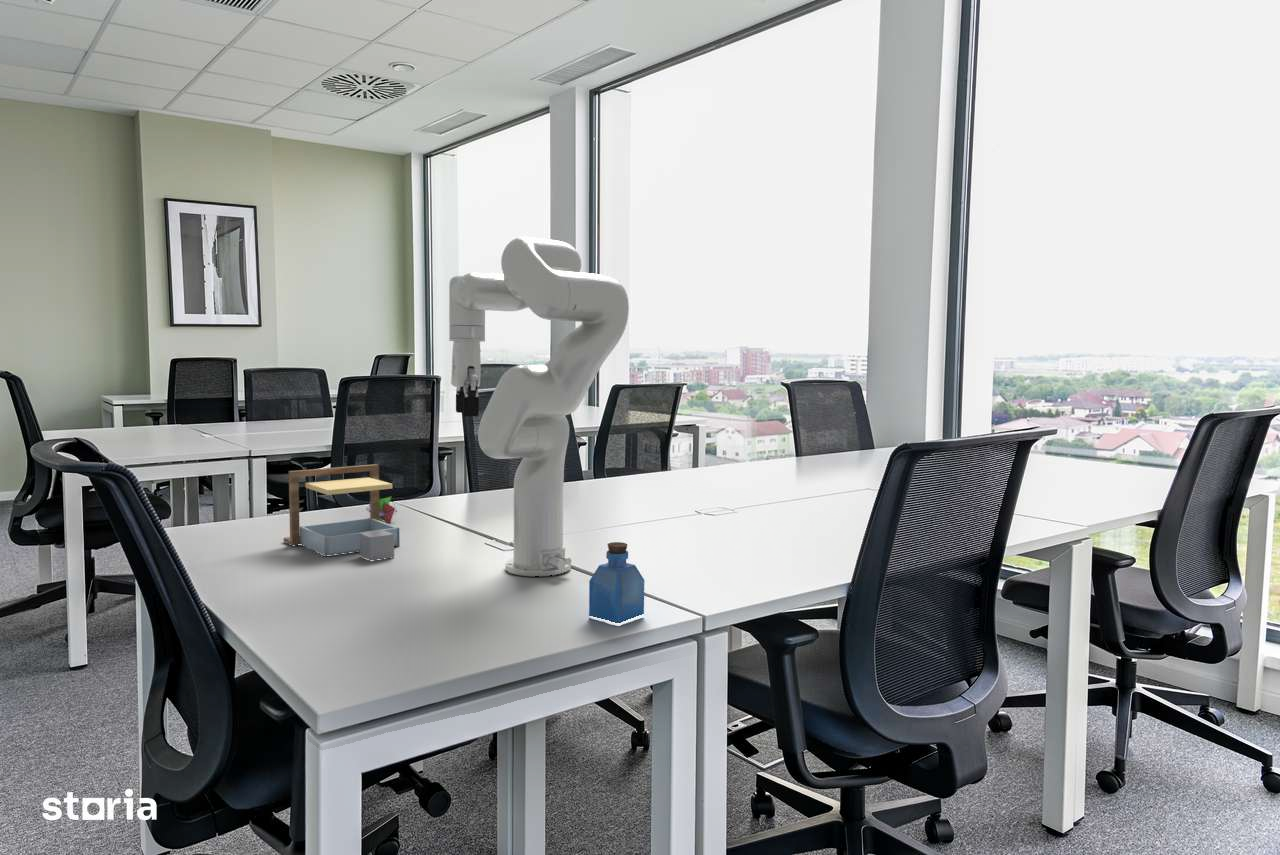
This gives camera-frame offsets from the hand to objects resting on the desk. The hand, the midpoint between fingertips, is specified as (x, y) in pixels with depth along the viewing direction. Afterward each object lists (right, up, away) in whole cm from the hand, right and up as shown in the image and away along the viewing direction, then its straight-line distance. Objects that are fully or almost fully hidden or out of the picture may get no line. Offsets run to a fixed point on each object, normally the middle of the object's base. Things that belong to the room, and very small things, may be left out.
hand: (467, 414), depth 185 cm
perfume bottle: (+34, -34, -48) cm, 68 cm away
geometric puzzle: (-25, -26, +23) cm, 43 cm away
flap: (-25, -16, -2) cm, 29 cm away
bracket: (-31, -28, +5) cm, 42 cm away
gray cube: (-16, -29, -11) cm, 35 cm away
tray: (-25, -28, -1) cm, 38 cm away
